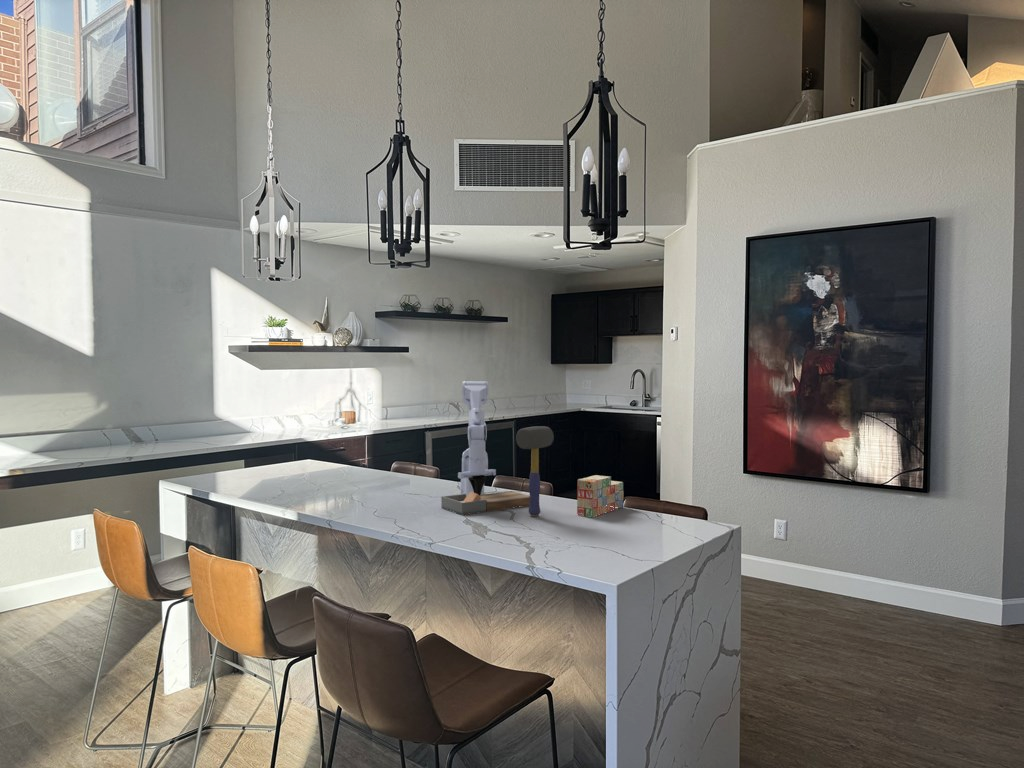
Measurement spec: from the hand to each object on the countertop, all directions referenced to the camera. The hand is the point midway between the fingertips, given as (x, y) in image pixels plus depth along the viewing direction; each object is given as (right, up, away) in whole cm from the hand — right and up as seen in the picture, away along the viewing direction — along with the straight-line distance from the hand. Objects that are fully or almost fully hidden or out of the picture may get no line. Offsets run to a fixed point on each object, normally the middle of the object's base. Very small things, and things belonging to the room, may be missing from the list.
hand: (477, 497), depth 249 cm
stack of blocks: (+43, -5, -4) cm, 43 cm away
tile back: (-1, -2, -1) cm, 2 cm away
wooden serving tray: (+8, -4, +6) cm, 10 cm away
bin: (-5, -4, -3) cm, 7 cm away
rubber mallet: (+20, -5, -13) cm, 24 cm away
